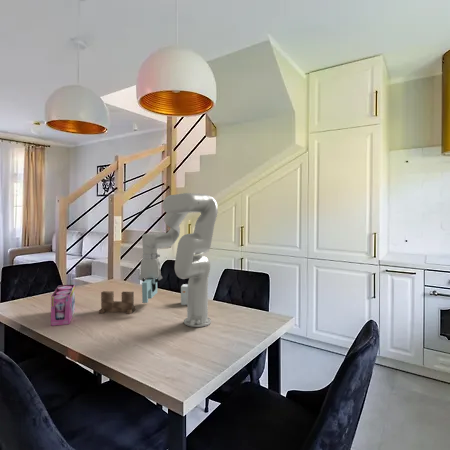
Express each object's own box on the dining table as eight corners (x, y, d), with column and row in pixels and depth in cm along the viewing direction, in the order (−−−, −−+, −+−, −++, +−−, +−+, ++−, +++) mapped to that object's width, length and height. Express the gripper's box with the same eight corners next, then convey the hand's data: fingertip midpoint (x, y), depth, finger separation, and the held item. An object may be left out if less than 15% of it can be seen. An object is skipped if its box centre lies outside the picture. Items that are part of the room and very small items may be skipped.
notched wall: (135, 309, 171) (135, 290, 171) (130, 313, 163) (130, 294, 163) (105, 308, 172) (105, 289, 171) (99, 313, 164) (98, 293, 163)
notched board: (147, 302, 161) (146, 282, 161) (142, 302, 161) (141, 282, 161) (157, 292, 183) (157, 274, 183) (153, 292, 183) (152, 274, 183)
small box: (196, 302, 184) (197, 284, 183) (195, 305, 178) (195, 286, 178) (183, 302, 185) (183, 283, 184) (180, 305, 179) (180, 286, 179)
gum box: (69, 325, 147) (69, 295, 146) (49, 327, 144) (49, 297, 143) (75, 309, 169) (75, 284, 169) (58, 311, 167) (58, 285, 166)
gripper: (166, 255, 176) (167, 289, 177) (137, 256, 176) (137, 289, 177) (163, 257, 169) (164, 292, 169) (132, 257, 169) (133, 292, 170)
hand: (150, 290), depth 173 cm, fingers closed on notched board, 2 cm apart
